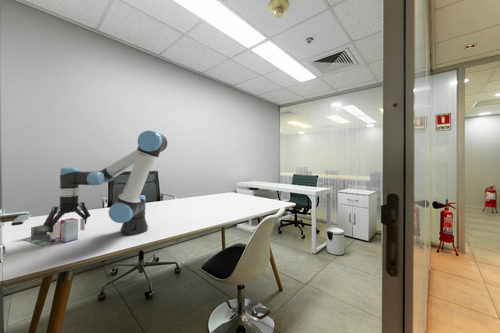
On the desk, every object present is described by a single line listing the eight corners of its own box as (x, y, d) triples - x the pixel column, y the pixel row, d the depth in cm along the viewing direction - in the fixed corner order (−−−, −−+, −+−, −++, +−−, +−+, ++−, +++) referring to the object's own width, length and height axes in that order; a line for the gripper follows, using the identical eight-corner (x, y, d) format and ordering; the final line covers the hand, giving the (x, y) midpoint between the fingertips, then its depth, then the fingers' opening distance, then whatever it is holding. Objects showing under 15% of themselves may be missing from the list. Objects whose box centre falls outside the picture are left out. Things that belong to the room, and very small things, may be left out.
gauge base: (78, 235, 115) (78, 225, 115) (43, 245, 100) (43, 234, 100) (58, 231, 121) (58, 221, 121) (23, 240, 106) (23, 229, 106)
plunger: (68, 234, 114) (68, 221, 114) (37, 243, 102) (37, 228, 102) (59, 232, 117) (59, 219, 117) (28, 240, 104) (28, 225, 104)
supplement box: (78, 239, 110) (78, 218, 110) (65, 243, 104) (66, 221, 104) (71, 237, 112) (72, 217, 112) (58, 241, 106) (59, 220, 106)
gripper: (89, 191, 120) (88, 226, 121) (34, 198, 97) (33, 241, 97) (98, 193, 118) (97, 227, 118) (43, 200, 94) (42, 243, 95)
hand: (68, 233), depth 108 cm, fingers open, 13 cm apart
